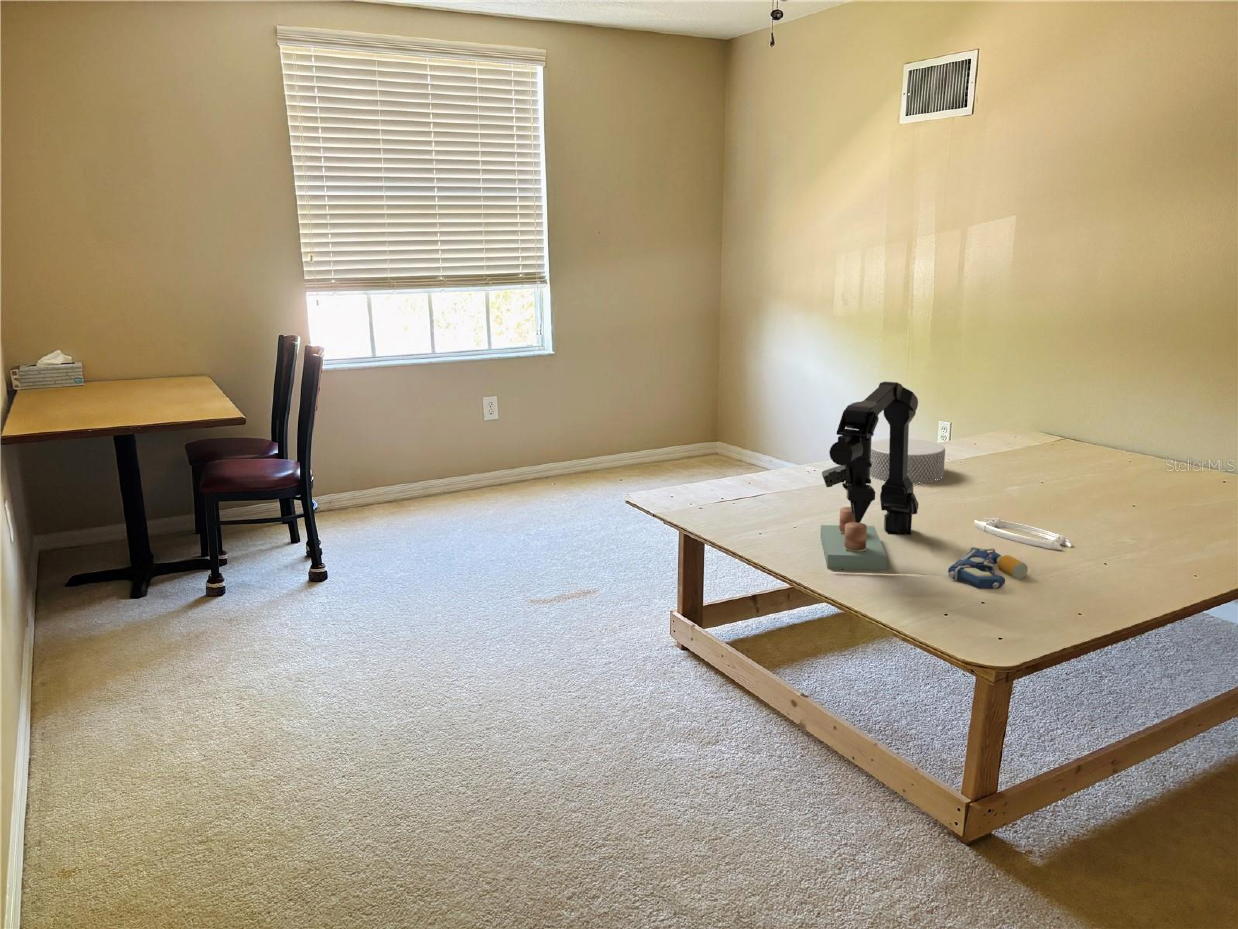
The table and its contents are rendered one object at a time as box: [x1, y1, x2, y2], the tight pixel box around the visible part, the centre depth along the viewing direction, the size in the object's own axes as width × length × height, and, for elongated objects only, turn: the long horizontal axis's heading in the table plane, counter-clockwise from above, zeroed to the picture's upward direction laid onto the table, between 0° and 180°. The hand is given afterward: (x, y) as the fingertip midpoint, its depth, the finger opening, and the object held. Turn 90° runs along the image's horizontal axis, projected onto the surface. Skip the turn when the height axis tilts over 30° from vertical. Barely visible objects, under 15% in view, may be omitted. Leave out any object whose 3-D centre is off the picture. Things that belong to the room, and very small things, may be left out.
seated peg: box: [838, 506, 855, 534], centre depth 221 cm, size 5×5×10 cm
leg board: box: [820, 524, 888, 571], centre depth 215 cm, size 14×23×4 cm, turn 171°
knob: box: [870, 438, 946, 484], centre depth 288 cm, size 25×10×25 cm
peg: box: [844, 522, 868, 552], centre depth 208 cm, size 5×5×10 cm
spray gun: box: [947, 546, 1029, 590], centre depth 199 cm, size 21×4×15 cm
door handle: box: [973, 517, 1073, 551], centre depth 225 cm, size 3×10×25 cm
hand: (856, 518), depth 207 cm, fingers open, 7 cm apart
